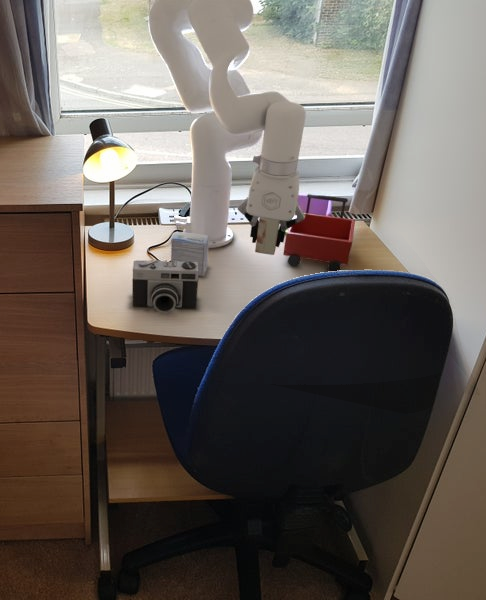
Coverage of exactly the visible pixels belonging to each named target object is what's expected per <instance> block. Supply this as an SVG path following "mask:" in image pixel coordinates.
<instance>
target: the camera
mask: <svg viewBox="0 0 486 600" xmlns="http://www.w3.org/2000/svg"><path fill="white" fill-rule="evenodd" d="M131 281H132V307H133V308H145V309H147V308H148V309H155V310H156V311H157V312H159V313H164V314H167V313H171V312H172V311H174V310H197V301H198V287H199V276H198V262H179V261H177V262H176V261H174V262H171V261H168V260H166V259H165V260H160V259H148V260H139V259H137V260H134V261H133V264H132V280H131Z"/></svg>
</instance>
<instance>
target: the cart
mask: <svg viewBox="0 0 486 600" xmlns="http://www.w3.org/2000/svg"><path fill="white" fill-rule="evenodd" d="M306 195H307V197H308V203H307V209H306V213H304V214H305V219H304V220H303V221H301V222H299V223H296V224H295V225H293V226H292V227H290V228H288V230H287V233H286V234H285V238H284V247H283V253H282V254H283V256H288V258H287V263H288V265H289V266H291V267H298V266H299V265H300V263H301V260H302V259H307V260H311V261H319V262H326V263H328V264H327V270H328V271H329V272H330V271H337V270H340V271H341V269H342V265H345V266H348V263H349V261H350V255H351V249H352V246H353V245H352V244H353V241H354V240H353V239H354V232H355V227H356V226H355V225H356V219H353V218H345V217H344V213H345V209H346V204H347V203H348V202H349V199H348V198H346V197H339V196H332V195H325V194H315V193H314V194H313V193H307V194H306ZM311 198H313V199H321V200H329V201H332V202H338V203H342V205H341V211H340V216H339V217H337V216H332V215H331V216H324V215H316V214H309V207H310V201H311ZM295 216H296V214H295V215H294V217H295Z"/></svg>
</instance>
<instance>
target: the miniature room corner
mask: <svg viewBox="0 0 486 600" xmlns="http://www.w3.org/2000/svg"><path fill="white" fill-rule="evenodd" d="M307 203H308V197H307V194H301V193H300V194H298V204H299V206H300V207H301V209H302V211H303V213H306V209H307ZM332 208H333V201H329V200H321V199H313V198H311V201H310V207H309V214H316V215H324V216H331V217H332V210H333V209H332ZM287 230H288V229H287ZM287 230H286V232H285V235H286V233H287Z"/></svg>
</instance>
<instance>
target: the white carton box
mask: <svg viewBox="0 0 486 600" xmlns="http://www.w3.org/2000/svg"><path fill="white" fill-rule="evenodd" d="M258 220H259V226H258V233H257V240H256V243H255V248H254V253H258V254H262V255H263V254H264V255H270V256H274V255H275V252H276V249H277V247H276V241H277V234H278V230H279V227H280V220H276V219H270V218H264V217H259V218H258Z"/></svg>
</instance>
